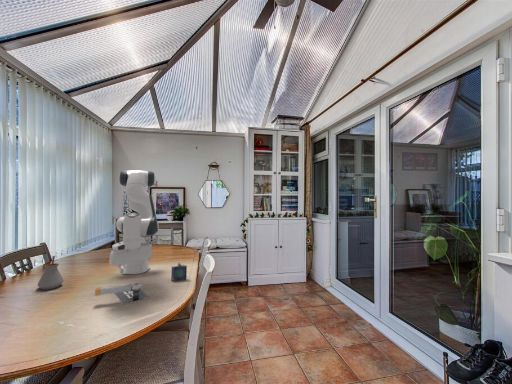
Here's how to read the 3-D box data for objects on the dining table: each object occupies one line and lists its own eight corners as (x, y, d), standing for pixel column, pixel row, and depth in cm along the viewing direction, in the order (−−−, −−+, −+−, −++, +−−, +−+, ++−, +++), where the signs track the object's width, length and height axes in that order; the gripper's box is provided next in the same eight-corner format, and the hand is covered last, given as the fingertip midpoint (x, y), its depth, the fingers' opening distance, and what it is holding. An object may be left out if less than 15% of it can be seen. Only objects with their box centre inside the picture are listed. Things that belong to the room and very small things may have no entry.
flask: (171, 281, 150) (171, 264, 150) (171, 280, 153) (171, 263, 153) (186, 280, 153) (186, 263, 153) (186, 278, 155) (186, 261, 156)
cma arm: (94, 296, 114) (94, 290, 114) (97, 292, 118) (97, 287, 118) (140, 291, 120) (140, 285, 120) (141, 288, 125) (141, 282, 125)
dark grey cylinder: (132, 299, 122) (132, 290, 122) (137, 297, 124) (138, 288, 124) (133, 301, 120) (134, 291, 120) (139, 299, 122) (140, 290, 122)
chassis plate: (114, 294, 129) (114, 293, 129) (137, 289, 137) (137, 287, 137) (124, 306, 116) (124, 304, 116) (149, 299, 124) (149, 297, 124)
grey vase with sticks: (62, 288, 137) (63, 261, 138) (35, 292, 131) (36, 265, 131) (65, 277, 155) (65, 254, 155) (41, 281, 148) (41, 256, 148)
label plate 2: (126, 295, 126) (126, 294, 126) (135, 293, 129) (135, 292, 129) (129, 298, 122) (129, 298, 122) (138, 296, 125) (138, 295, 125)
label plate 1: (122, 291, 131) (122, 291, 131) (131, 289, 134) (131, 288, 134) (125, 294, 127) (125, 294, 127) (134, 292, 130) (134, 291, 130)
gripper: (150, 241, 136) (149, 265, 136) (108, 245, 122) (108, 273, 122) (154, 242, 132) (153, 268, 131) (111, 247, 118) (111, 276, 117)
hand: (131, 270), depth 127 cm, fingers open, 8 cm apart
